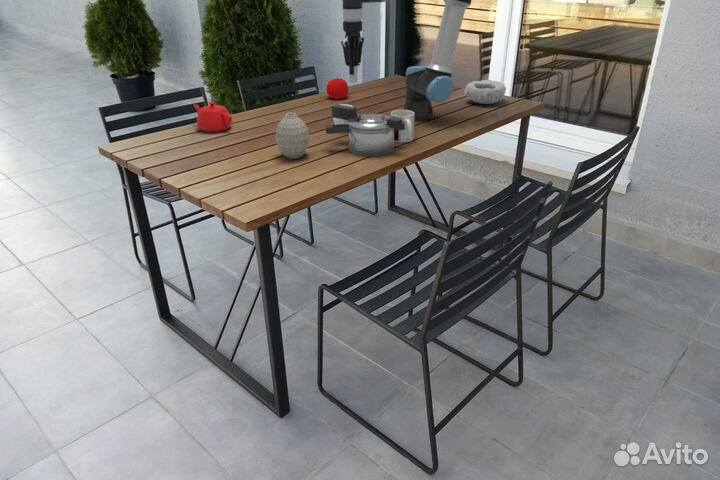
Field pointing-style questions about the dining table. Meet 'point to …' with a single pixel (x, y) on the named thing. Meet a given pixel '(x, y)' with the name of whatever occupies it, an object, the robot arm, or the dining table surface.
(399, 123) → the lid
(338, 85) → the tomato
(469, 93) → the bowl
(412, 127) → the mug
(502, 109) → the dining table surface
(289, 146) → the vase
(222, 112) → the teapot
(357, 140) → the pot
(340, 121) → the cup
